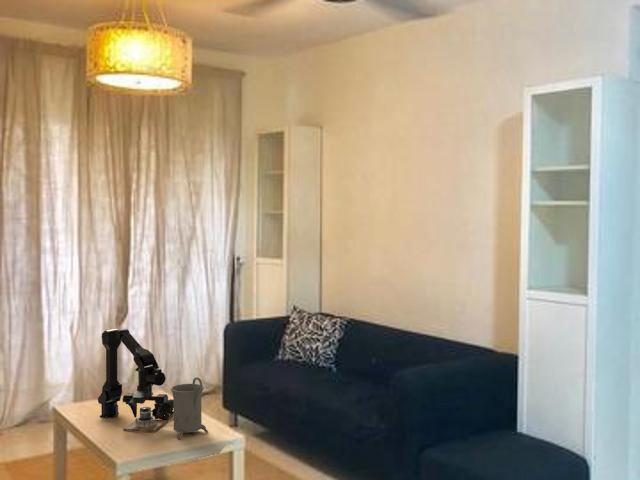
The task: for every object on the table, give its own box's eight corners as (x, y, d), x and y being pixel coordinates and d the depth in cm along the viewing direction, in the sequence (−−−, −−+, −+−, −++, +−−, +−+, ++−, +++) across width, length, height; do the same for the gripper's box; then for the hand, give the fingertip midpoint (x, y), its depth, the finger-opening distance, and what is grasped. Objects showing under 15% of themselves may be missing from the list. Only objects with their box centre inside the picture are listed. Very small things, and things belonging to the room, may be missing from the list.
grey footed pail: (161, 433, 280) (160, 374, 279) (190, 425, 291) (190, 368, 290) (186, 443, 267) (186, 381, 266) (216, 435, 278) (216, 375, 277)
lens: (138, 425, 287) (138, 409, 287) (142, 422, 292) (142, 406, 291) (148, 426, 286) (148, 410, 286) (152, 422, 291) (152, 406, 291)
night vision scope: (171, 416, 312) (186, 404, 310) (154, 429, 294) (170, 416, 292) (161, 403, 312) (176, 390, 310) (144, 415, 295) (159, 401, 293)
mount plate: (123, 430, 283) (123, 422, 283) (137, 420, 297) (137, 413, 297) (154, 432, 281) (154, 424, 281) (167, 422, 295) (167, 414, 295)
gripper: (116, 386, 282) (116, 422, 282) (158, 387, 279) (158, 424, 280) (127, 379, 293) (128, 414, 293) (168, 381, 290) (168, 416, 291)
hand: (145, 417), depth 289 cm, fingers open, 9 cm apart
